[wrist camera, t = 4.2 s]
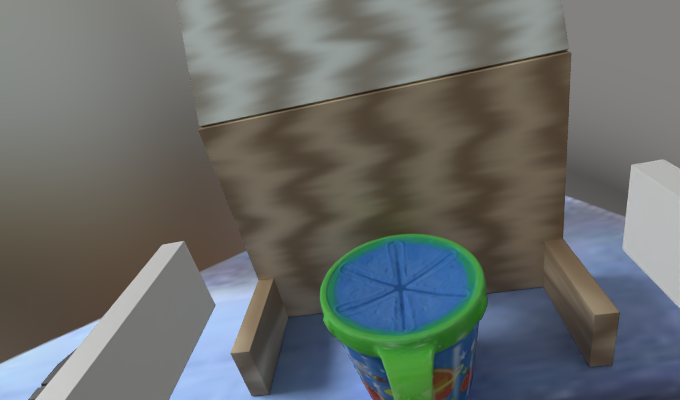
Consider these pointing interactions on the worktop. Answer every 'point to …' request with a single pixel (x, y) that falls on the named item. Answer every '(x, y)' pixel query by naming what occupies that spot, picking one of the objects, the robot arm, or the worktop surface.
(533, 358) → the worktop surface
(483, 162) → the tan tall piece
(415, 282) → the snack cup
